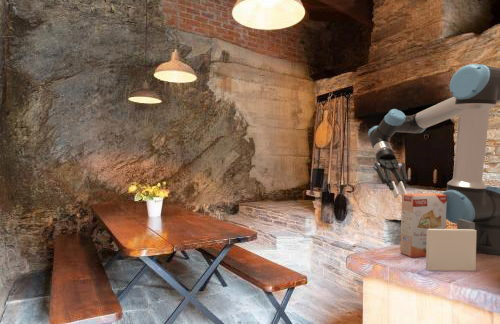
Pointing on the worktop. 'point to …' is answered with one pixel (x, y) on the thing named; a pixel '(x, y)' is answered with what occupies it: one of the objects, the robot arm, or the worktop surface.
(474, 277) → the worktop surface
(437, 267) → the shelf bookend
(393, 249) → the worktop surface
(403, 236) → the cracker box
